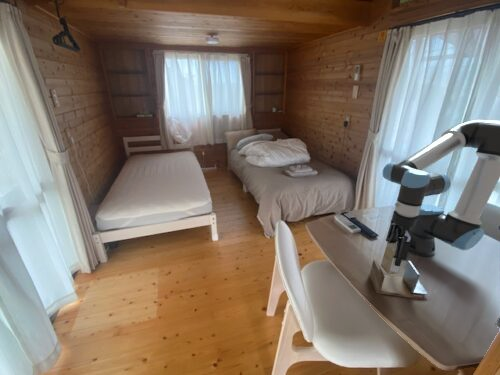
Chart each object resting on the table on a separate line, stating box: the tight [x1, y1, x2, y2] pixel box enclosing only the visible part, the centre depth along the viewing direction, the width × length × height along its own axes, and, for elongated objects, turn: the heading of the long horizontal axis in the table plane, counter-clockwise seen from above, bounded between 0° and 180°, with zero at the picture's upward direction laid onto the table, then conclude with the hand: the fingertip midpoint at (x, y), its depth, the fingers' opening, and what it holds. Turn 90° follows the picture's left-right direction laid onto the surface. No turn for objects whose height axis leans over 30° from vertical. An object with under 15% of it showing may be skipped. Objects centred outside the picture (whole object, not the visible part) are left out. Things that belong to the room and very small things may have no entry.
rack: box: [369, 259, 423, 300], centre depth 96 cm, size 16×10×8 cm, turn 80°
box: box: [380, 242, 403, 275], centre depth 93 cm, size 5×4×11 cm
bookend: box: [402, 260, 429, 296], centre depth 94 cm, size 6×8×9 cm
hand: (390, 265), depth 94 cm, fingers closed on box, 6 cm apart
